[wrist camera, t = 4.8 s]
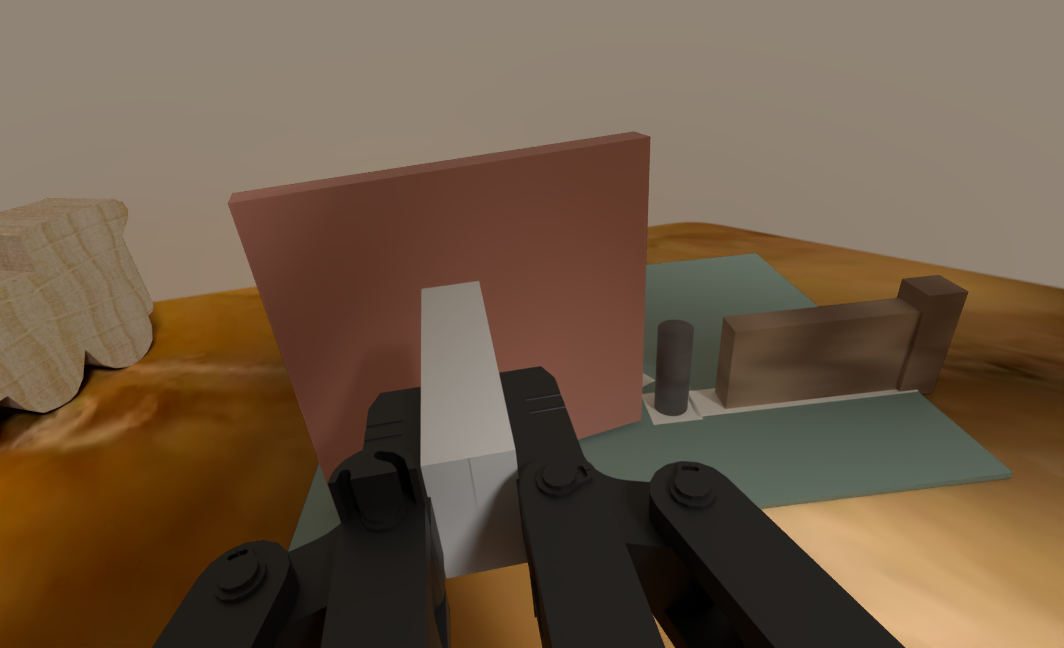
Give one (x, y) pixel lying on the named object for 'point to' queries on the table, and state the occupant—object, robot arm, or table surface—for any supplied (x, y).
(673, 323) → the fence wall
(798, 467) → the card
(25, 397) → the toy train
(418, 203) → the gate panel
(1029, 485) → the table surface
